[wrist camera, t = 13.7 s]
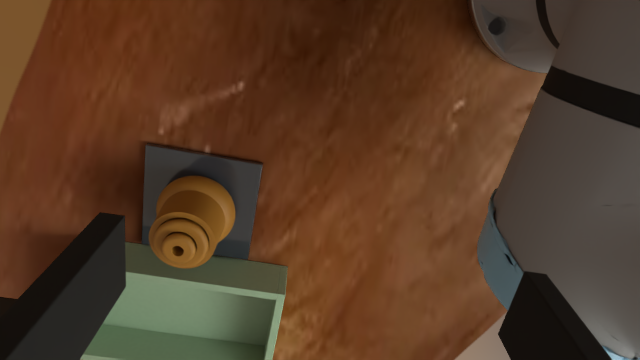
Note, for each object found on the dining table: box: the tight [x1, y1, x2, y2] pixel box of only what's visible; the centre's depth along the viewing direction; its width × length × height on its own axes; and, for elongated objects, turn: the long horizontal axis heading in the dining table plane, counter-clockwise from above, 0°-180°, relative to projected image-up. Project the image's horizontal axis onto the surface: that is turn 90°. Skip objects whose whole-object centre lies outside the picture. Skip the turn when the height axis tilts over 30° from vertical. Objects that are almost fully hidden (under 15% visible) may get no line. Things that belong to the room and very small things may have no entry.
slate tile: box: [142, 143, 263, 260], centre depth 45 cm, size 11×11×1 cm
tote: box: [80, 242, 288, 360], centre depth 48 cm, size 22×12×5 cm, turn 79°
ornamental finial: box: [149, 176, 235, 269], centre depth 41 cm, size 8×8×8 cm
